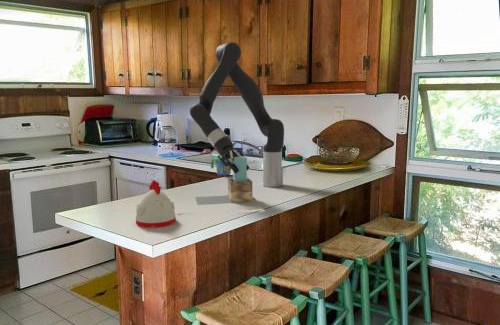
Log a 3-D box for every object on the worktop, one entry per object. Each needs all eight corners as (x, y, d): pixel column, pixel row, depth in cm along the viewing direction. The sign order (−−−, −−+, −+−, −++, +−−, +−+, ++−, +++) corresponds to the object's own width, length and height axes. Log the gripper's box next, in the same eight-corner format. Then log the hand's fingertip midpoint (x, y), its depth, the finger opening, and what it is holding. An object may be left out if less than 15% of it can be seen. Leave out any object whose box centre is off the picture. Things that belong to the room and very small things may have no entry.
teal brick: (244, 179, 187) (244, 156, 185) (246, 181, 182) (246, 158, 180) (233, 180, 186) (232, 156, 184) (234, 182, 181) (234, 158, 179)
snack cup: (240, 174, 249) (240, 157, 248) (230, 177, 240) (230, 159, 239) (217, 172, 257) (217, 155, 255) (207, 175, 248) (207, 157, 246)
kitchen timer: (145, 230, 146) (143, 186, 144) (130, 221, 157) (128, 180, 155) (182, 223, 154) (181, 181, 152) (165, 214, 165) (164, 175, 163)
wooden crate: (248, 196, 190) (248, 177, 189) (252, 201, 181) (252, 181, 180) (228, 197, 188) (227, 178, 187) (231, 202, 180) (230, 182, 179)
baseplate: (249, 196, 194) (249, 194, 194) (255, 204, 180) (255, 201, 180) (195, 199, 189) (195, 197, 189) (197, 207, 176) (197, 204, 176)
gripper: (214, 136, 179) (237, 167, 175) (235, 134, 191) (257, 162, 186) (204, 148, 183) (227, 179, 178) (225, 145, 195) (247, 173, 190)
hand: (242, 170), depth 182 cm, fingers closed on teal brick, 7 cm apart
